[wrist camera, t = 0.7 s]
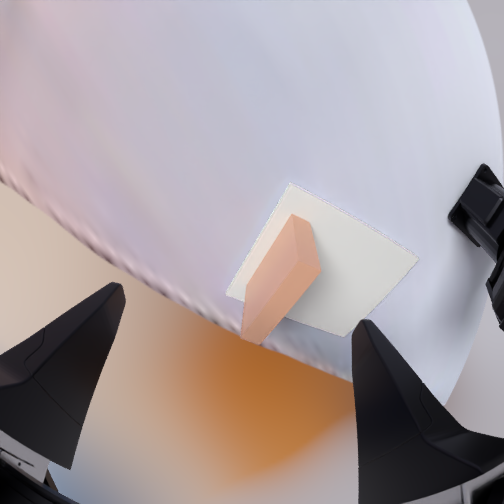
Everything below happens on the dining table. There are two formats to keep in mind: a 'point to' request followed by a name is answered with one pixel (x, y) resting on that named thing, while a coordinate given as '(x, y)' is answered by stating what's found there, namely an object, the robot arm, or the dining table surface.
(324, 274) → the mat
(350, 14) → the dining table surface
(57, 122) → the dining table surface
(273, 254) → the tile
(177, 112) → the dining table surface
